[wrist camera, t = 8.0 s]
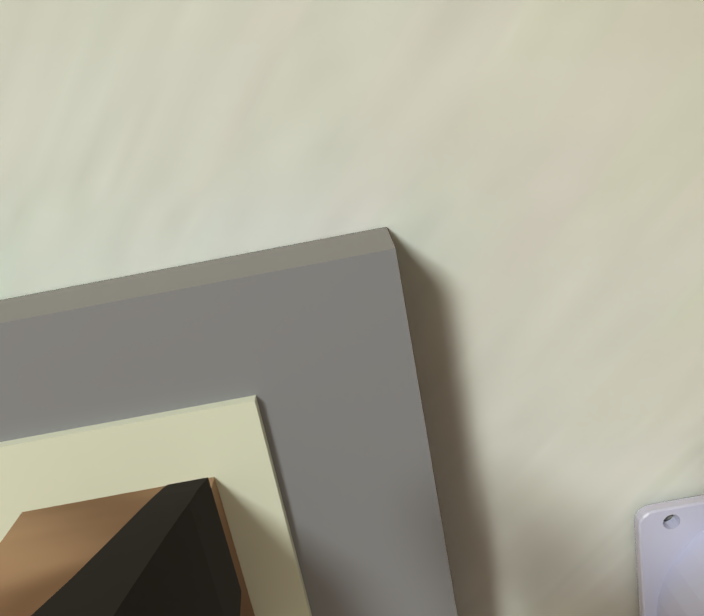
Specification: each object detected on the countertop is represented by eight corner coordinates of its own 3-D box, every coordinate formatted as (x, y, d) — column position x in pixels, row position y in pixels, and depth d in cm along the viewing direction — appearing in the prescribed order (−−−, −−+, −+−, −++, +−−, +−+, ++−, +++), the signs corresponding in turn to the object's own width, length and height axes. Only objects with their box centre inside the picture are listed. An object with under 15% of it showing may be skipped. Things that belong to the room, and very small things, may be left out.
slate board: (386, 226, 18) (396, 251, 15) (456, 635, 22) (474, 709, 20) (-191, 336, 18) (-279, 379, 16) (-11, 716, 23) (-56, 800, 20)
